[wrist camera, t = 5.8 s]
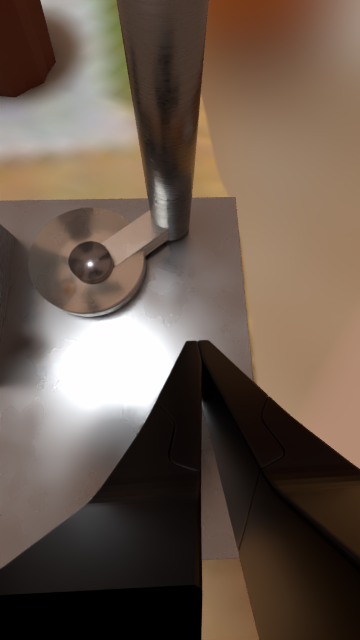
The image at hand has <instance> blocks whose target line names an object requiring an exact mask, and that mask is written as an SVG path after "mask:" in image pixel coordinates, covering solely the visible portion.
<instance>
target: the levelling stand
mask: <svg viewBox="0 0 360 640" xmlns="http://www.w3.org/2000/svg"><path fill="white" fill-rule="evenodd" d="M89 207H90V208H102V209H106V210H110V211H112V212H115V213H117V214H119V215H120V216H122V217H123V218H125V219H126V220H127V221H128V222H129V223H132V222H133V221H134V220H136V219H137V218H139V217H140V216H142V215H143V214H145V213H146V212H148V211H149V210H150V208H149V202H148V199H86V200H21V201H0V568H2V567H3V566H5V565H6V564H7V563H9V562H10V561H11V560H13V559H14V558H15V557H17V556H18V555H19V554H21V553H22V552H23V551H25V550H26V549H27V548H29V547H30V546H31V545H32V544H34V543H35V542H36V541H38V540H39V539H40V538H42V537H43V536H44V535H46V534H47V533H48V532H50V531H51V530H52V529H54V528H55V527H56V526H58V525H59V524H60V523H61V522H63V521H64V520H65V519H67V518H68V517H69V516H71V515H72V514H73V513H75V512H76V511H77V510H79V509H80V508H81V507H82V506H84V505H85V504H86V503H87V502H88V501H89V500H90V499H91V498H92V497H93V496H94V495H95V494H96V492H97V491H98V490H99V489H100V487H101V486H102V485H103V483H104V482H105V481H106V479H107V478H108V476H109V475H110V473H111V472H112V470H113V469H114V467H115V466H116V465H117V463H118V462H119V460H120V459H121V457H122V456H123V454H124V453H125V451H126V450H127V449H128V447H129V446H130V444H131V443H132V441H133V440H134V438H135V437H136V435H137V434H138V432H139V430H140V429H141V427H142V426H143V424H144V422H145V420H146V418H147V417H148V415H149V413H150V411H151V409H152V407H153V405H154V403H155V401H156V399H157V397H158V395H159V393H160V391H161V389H162V387H163V385H164V383H165V381H166V380H167V378H168V376H169V374H170V372H171V370H172V368H173V366H174V364H175V362H176V360H177V358H178V356H179V354H180V352H181V350H182V348H183V346H184V344H185V342H186V341H194V340H195V341H197V342H198V340H209V341H210V342H211V343H213V344H214V345H215V346H216V347H217V348H218V349H219V350H220V351H221V352H222V353H223V354H224V355H225V356H227V357H228V358H229V359H230V360H231V361H232V362H233V363H234V364H235V365H236V366H237V367H238V368H239V369H240V370H242V371H243V372H244V373H245V374H246V375H247V376H248V377H249V378H250V379H251V380H252V381H253V374H252V364H251V354H250V343H249V333H248V323H247V312H246V302H245V292H244V281H243V271H242V261H241V250H240V240H239V230H238V219H237V209H236V199H235V197H216V198H192V202H191V214H190V225H189V229H188V231H187V233H186V234H185V235H184V236H183V237H181V238H179V239H177V240H167V241H166V242H164V243H163V244H161V245H160V246H159V247H157V248H156V249H155V250H153V251H152V252H150V253H149V254H148V255H146V256H145V259H146V270H145V275H144V279H143V281H142V284H141V286H140V288H139V289H138V291H137V292H136V294H135V295H134V296H133V297H132V298H131V299H130V300H129V301H128V302H127V303H126V304H125V305H123V306H122V307H120V308H119V309H117V310H115V311H113V312H110V313H108V314H105V315H100V316H93V317H83V316H76V315H73V314H69V313H67V312H65V311H63V310H61V309H59V308H58V307H56V306H54V305H53V304H51V303H50V302H48V301H47V300H46V299H44V298H43V297H42V296H41V295H40V294H39V292H38V291H37V290H36V288H35V287H34V285H33V283H32V280H31V278H30V274H29V267H28V261H29V254H30V250H31V247H32V244H33V242H34V240H35V238H36V237H37V235H38V234H39V232H40V231H41V230H42V229H43V228H44V227H45V226H46V225H47V224H48V223H49V222H50V221H52V220H53V219H54V218H56V217H58V216H59V215H61V214H63V213H66V212H68V211H71V210H75V209H80V208H89ZM201 528H202V560H210V559H232V558H239V551H238V550H237V545H236V541H235V537H234V533H233V529H232V525H231V521H230V517H229V512H228V508H227V504H226V500H225V496H224V492H223V488H222V484H221V480H220V475H219V471H218V467H217V463H216V459H215V455H214V451H213V447H212V443H211V438H210V434H209V430H208V426H207V422H206V418H205V414H204V410H203V405H202V451H201Z"/></svg>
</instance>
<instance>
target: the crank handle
mask: <svg viewBox="0 0 360 640" xmlns="http://www.w3.org/2000/svg"><path fill="white" fill-rule="evenodd" d="M208 1H209V0H117V6H118V12H119V18H120V25H121V31H122V37H123V44H124V50H125V56H126V63H127V69H128V75H129V82H130V88H131V94H132V101H133V107H134V113H135V120H136V126H137V132H138V139H139V145H140V151H141V157H142V164H143V170H144V176H145V183H146V189H147V195H148V202H149V208H150V210H149V211H148V212H146V213H145V214H143V215H142V216H140V217H139V218H137V219H136V220H134V221H133V222H132V223H129V222H128V221H127V220H126V219H125V218H123V217H122V216H120V215H119V214H117V213H115V212H112V211H110V210H106V209H102V208H90V207H89V208H80V209H75V210H71V211H68V212H66V213H63V214H61V215H59V216H58V217H56V218H54V219H53V220H52V221H50V222H49V223H48V224H47V225H46V226H45V227H44V228H43V229H42V230H41V231H40V232H39V234H38V235H37V237H36V238H35V240H34V242H33V244H32V247H31V250H30V254H29V261H28V267H29V274H30V278H31V280H32V283H33V285H34V287H35V288H36V290H37V291H38V292H39V294H40V295H41V296H42V297H43V298H44V299H46V300H47V301H48V302H50V303H51V304H53V305H54V306H56V307H58V308H59V309H61V310H63V311H65V312H67V313H69V314H73V315H76V316H83V317H93V316H100V315H105V314H108V313H110V312H113V311H115V310H117V309H119V308H120V307H122V306H123V305H125V304H126V303H127V302H128V301H129V300H130V299H131V298H132V297H133V296H134V295H135V294H136V292H137V291H138V289H139V288H140V286H141V284H142V281H143V279H144V275H145V270H146V259H145V256H146V255H148V254H149V253H150V252H152V251H153V250H155V249H156V248H157V247H159V246H160V245H161V244H163V243H164V242H166V241H167V240H177V239H179V238H181V237H183V236H184V235H185V234H186V233H187V231H188V229H189V225H190V214H191V202H192V190H193V178H194V166H195V154H196V143H197V131H198V119H199V107H200V95H201V83H202V72H203V60H204V48H205V36H206V23H207V12H208Z"/></svg>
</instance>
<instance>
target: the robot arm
mask: <svg viewBox="0 0 360 640" xmlns="http://www.w3.org/2000/svg"><path fill="white" fill-rule="evenodd" d="M202 405H203V410H204V414H205V418H206V422H207V426H208V430H209V434H210V438H211V443H212V447H213V451H214V455H215V459H216V463H217V467H218V471H219V475H220V480H221V484H222V488H223V492H224V496H225V500H226V504H227V508H228V512H229V517H230V521H231V525H232V529H233V533H234V537H235V541H236V545H237V550H238V551H239V558H240V562H241V566H242V570H243V574H244V579H245V583H246V587H247V591H248V595H249V599H250V603H251V607H252V611H253V616H254V620H255V624H256V628H257V632H258V636H259V640H360V469H359V468H358V467H356V466H355V465H353V464H352V463H351V462H349V461H348V460H347V459H345V458H344V457H343V456H342V455H340V454H339V453H338V452H337V451H335V450H334V449H333V448H331V447H330V446H329V445H327V444H326V443H325V442H324V441H322V440H321V439H320V438H318V437H317V436H316V435H314V434H313V433H312V432H310V431H309V430H308V429H307V428H305V427H304V426H303V425H302V424H300V423H299V422H298V421H297V420H295V419H294V418H293V417H292V416H290V414H288V413H287V412H286V411H285V410H284V409H283V408H281V407H280V406H279V405H278V404H277V403H276V402H275V401H274V400H273V399H272V398H271V397H268V395H267V394H266V393H265V392H264V391H263V390H262V389H261V388H260V387H259V386H258V385H257V384H256V383H254V382H253V381H252V380H251V379H250V378H249V377H248V376H247V375H246V374H245V373H244V372H243V371H242V370H240V369H239V368H238V367H237V366H236V365H235V364H234V363H233V362H232V361H231V360H230V359H229V358H228V357H227V356H225V355H224V354H223V353H222V352H221V351H220V350H219V349H218V348H217V347H216V346H215V345H214V344H213V343H211V342H210V341H209V340H198V342H197V341H195V340H194V341H186V342H185V344H184V346H183V348H182V350H181V352H180V354H179V356H178V358H177V360H176V362H175V364H174V366H173V368H172V370H171V372H170V374H169V376H168V378H167V380H166V381H165V383H164V385H163V387H162V389H161V391H160V393H159V395H158V397H157V399H156V401H155V403H154V405H153V407H152V409H151V411H150V413H149V415H148V417H147V418H146V420H145V422H144V424H143V426H142V427H141V429H140V430H139V432H138V434H137V435H136V437H135V438H134V440H133V441H132V443H131V444H130V446H129V447H128V449H127V450H126V451H125V453H124V454H123V456H122V457H121V459H120V460H119V462H118V463H117V465H116V466H115V467H114V469H113V470H112V472H111V473H110V475H109V476H108V478H107V479H106V481H105V482H104V483H103V485H102V486H101V487H100V489H99V490H98V491H97V492H96V494H95V495H94V496H93V497H92V498H91V499H90V500H89V501H88V502H87V503H86V504H85V505H84V506H82V507H81V508H80V509H79V510H77V511H76V512H75V513H73V514H72V515H71V516H69V517H68V518H67V519H65V520H64V521H63V522H61V523H60V524H59V525H58V526H56V527H55V528H54V529H52V530H51V531H50V532H48V533H47V534H46V535H44V536H43V537H42V538H40V539H39V540H38V541H36V542H35V543H34V544H32V545H31V546H30V547H29V548H27V549H26V550H25V551H23V552H22V553H21V554H19V555H18V556H17V557H15V558H14V559H13V560H11V561H10V562H9V563H7V564H6V565H5V566H3V567H2V568H0V640H201V628H202V528H201V451H202Z"/></svg>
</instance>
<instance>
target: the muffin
mask: <svg viewBox="0 0 360 640" xmlns="http://www.w3.org/2000/svg"><path fill="white" fill-rule="evenodd" d="M55 62H56V61H55V57H54V53H53V49H52V45H51V41H50V37H49V33H48V29H47V25H46V21H45V17H44V13H43V9H42V5H41V1H40V0H0V96H7V97H17V96H19V95H21V94H22V93H24V92H26V91H27V90H29V89H31V88H34V87H36V86H38V85H41V84H43V83H44V81H45V79H46V77H47V75H48V72H49V71H50V69H51V68H52V67H53V65H54V64H55Z"/></svg>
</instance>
